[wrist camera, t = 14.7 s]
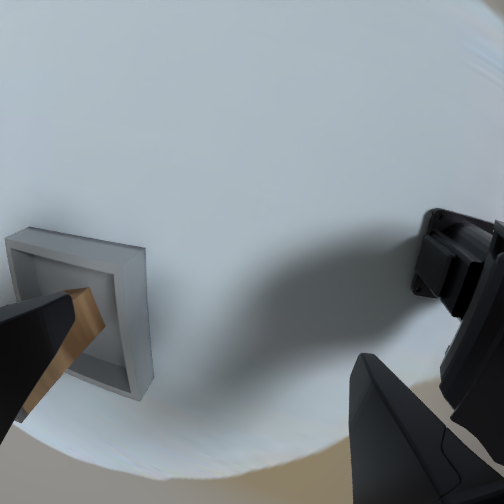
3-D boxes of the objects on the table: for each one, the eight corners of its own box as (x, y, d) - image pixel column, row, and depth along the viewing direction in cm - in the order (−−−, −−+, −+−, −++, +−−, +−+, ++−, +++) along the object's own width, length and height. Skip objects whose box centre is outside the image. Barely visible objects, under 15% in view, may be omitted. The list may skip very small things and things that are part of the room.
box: (145, 248, 22) (122, 265, 19) (154, 377, 27) (140, 401, 24) (29, 226, 23) (4, 238, 20) (51, 340, 28) (34, 357, 25)
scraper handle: (89, 287, 24) (-13, 376, 12) (106, 326, 25) (21, 423, 13) (61, 290, 25) (-33, 368, 12) (77, 326, 26) (-5, 411, 14)
